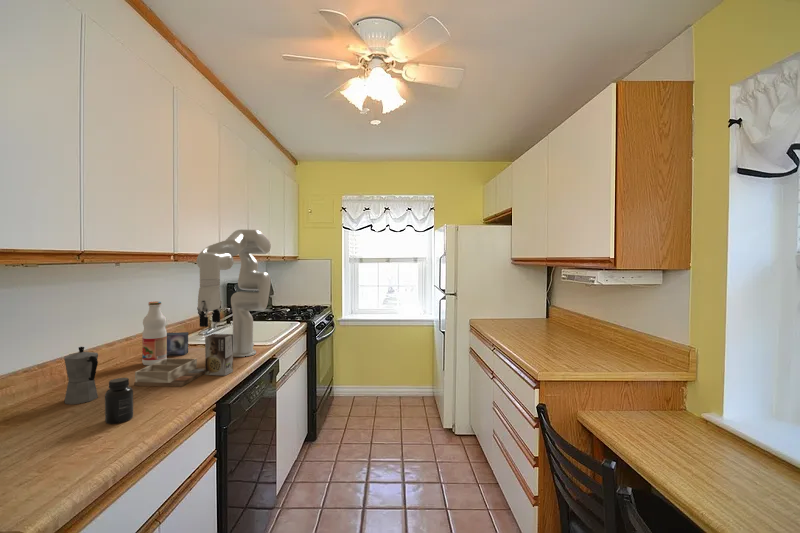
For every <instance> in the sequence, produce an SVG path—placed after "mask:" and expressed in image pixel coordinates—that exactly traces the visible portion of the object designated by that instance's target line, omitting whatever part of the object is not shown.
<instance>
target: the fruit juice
mask: <svg viewBox="0 0 800 533" xmlns="http://www.w3.org/2000/svg"><path fill="white" fill-rule="evenodd" d="M161 306H162V301H148V307H149V308H148V312H147V314H146V316H144V318H143V319H142V325H143V330H142V335H141V336H142V341H141V342H142V344H141V345H142V348H141V349H142V350H141V351H142V356H141V358H142V360H141V361H142V364H143V365H144V366H150V365H152V364H154V363H157V362H159V361H161V360H164V359H166V358H167V333H168V332H167V331H168V330H167V327H166V325H167V317H166V316H165V315H164V314H163V312H162V308H161Z"/></svg>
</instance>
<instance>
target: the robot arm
mask: <svg viewBox="0 0 800 533" xmlns="http://www.w3.org/2000/svg"><path fill="white" fill-rule="evenodd" d="M270 251H271V241H270V239H269V238H268V237H267V235H265V234H264V233H263V232H261V230H260V231H259V230H258V229H237V230H235V231H233V232H232V233H231V234H230V235H229V236H228V237H227V238H226V239H224V240H221V241H219V242H216V243H213V244H211V245H208V246H206V247H205V248H203V249H202V250H201V251H200V253H199V254H198V255H197V258H196V265H197V266H198V268H199V289H198V296H197V297H198V298H197V309H196V310H197V314H198V317H199V327H201V328H203V327H204V328H206V327H209V316H208V314H209V312H212V313H211V317H212V318H211V321H212V323H220V322H221V309H222V304H223V301H222V300H221V291H220V290H221V289H220V287H221V271H228V270H229V269H231V268H232V267H233V266H234V257H236V256H238V257H239V259H240V269H239V274H238V279H237V286H238V288H239V289H240V290H243V291H237V292H234V293H233V294H232V295H231V297H230V306H231V310H232V334H233V358H241V357H242V358H244V357H245V356H246V357H249V356H251V357H252V356H253V355H256V354H257V350H256V349H254V345H255V343H254V318H253V315H252V314H251V313H250V311H252V312H253V311H255V312H261V311H265V310H266V309H267V307H268V304H269V303H268V302H269V297H270V293H271V292H270V290H271V282H272V281H271V276H270V274H269V273H268V272H265V271H259V270H258V269H259V263H258V260H257V259H256V258H255V256H253V255H266V254H269V252H270ZM244 290H245V291H244Z"/></svg>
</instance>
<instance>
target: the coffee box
mask: <svg viewBox="0 0 800 533" xmlns="http://www.w3.org/2000/svg"><path fill="white" fill-rule="evenodd" d="M204 339H205V340H204V343H205V344H204V348H205V349H204V350H205V352H204V355H205V356H204V357H205V358H204V360H205V361H204V362H205V363H204V364H205V366H204V368H205V373H204V374H205V376H228V375H229V374H231V373H233V372H234V357H233V333H228V334H227V333H213V334H209V335H207V336H205V337H204Z"/></svg>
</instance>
